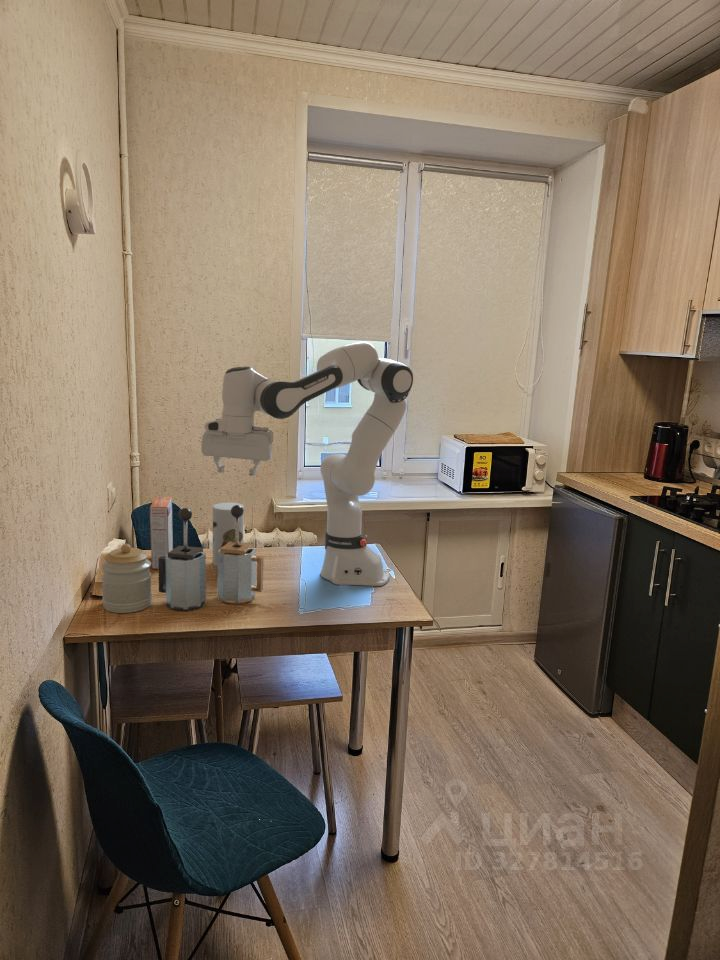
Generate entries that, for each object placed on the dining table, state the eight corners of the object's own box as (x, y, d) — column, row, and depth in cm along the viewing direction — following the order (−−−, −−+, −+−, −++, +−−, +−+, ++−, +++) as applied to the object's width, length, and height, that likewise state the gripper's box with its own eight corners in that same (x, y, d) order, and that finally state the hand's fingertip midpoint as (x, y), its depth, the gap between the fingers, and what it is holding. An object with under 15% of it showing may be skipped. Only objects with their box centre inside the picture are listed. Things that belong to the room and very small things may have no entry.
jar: (158, 597, 190) (157, 538, 187) (142, 615, 178) (141, 552, 174) (113, 595, 191) (111, 536, 187) (94, 612, 178) (92, 549, 174)
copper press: (266, 594, 197) (267, 543, 193) (255, 607, 186) (256, 554, 183) (225, 589, 198) (226, 539, 195) (212, 602, 188) (212, 549, 185)
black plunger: (204, 564, 188) (203, 506, 184) (193, 573, 180) (192, 512, 177) (178, 562, 189) (178, 503, 185) (166, 570, 181) (166, 510, 178)
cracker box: (155, 555, 226) (154, 496, 222) (173, 555, 227) (172, 496, 223) (150, 569, 213) (148, 506, 209) (169, 569, 214) (168, 506, 210)
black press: (210, 598, 191) (210, 546, 188) (196, 612, 181) (195, 557, 178) (168, 594, 193) (168, 542, 190) (152, 607, 183) (151, 553, 180)
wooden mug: (217, 586, 201) (217, 529, 197) (216, 571, 214) (216, 517, 210) (247, 585, 203) (247, 528, 199) (244, 570, 216) (245, 517, 212)
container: (211, 559, 225) (211, 502, 221) (240, 558, 228) (241, 501, 224) (214, 569, 216) (214, 509, 212) (244, 567, 219) (245, 508, 215)
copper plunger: (253, 560, 194) (254, 503, 190) (245, 568, 186) (245, 509, 183) (228, 557, 195) (229, 501, 191) (219, 565, 187) (219, 507, 184)
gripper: (276, 426, 186) (275, 475, 189) (208, 421, 190) (207, 468, 192) (270, 429, 180) (268, 479, 183) (199, 423, 184) (198, 472, 186)
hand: (236, 473), depth 188 cm, fingers open, 8 cm apart
